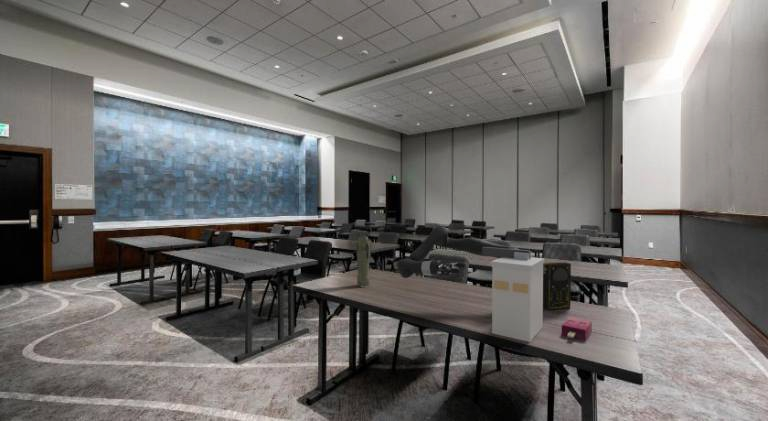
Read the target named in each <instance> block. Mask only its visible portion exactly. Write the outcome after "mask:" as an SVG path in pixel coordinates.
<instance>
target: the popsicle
mask: <svg viewBox="0 0 768 421" xmlns="http://www.w3.org/2000/svg"><path fill="white" fill-rule="evenodd" d="M592 330H593V322H592V320H591V319H590V320H589V319H585V318H584V319H583V318H578V317H574V316H569V317H568V318H567V319H566V320H565V321H564V322H563V323H562V324H561V336H564V337H567V338H571V339H577V340H581V341H585V342H586V340H587V339H588V338H589V336H590V334H591V333H592Z"/></svg>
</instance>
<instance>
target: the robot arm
mask: <svg viewBox="0 0 768 421" xmlns="http://www.w3.org/2000/svg"><path fill="white" fill-rule="evenodd" d="M434 246H436V247H440V248H444V249H446V248H447V249H452V250H456V251H460V252H461V251H462V252H464V253H465V252H466V253H469V254H473V255H476V256H480V257H486V256H485V255H482V247H492V248H505V249H518V250H520V249H519V248H517V247H514V246H505V245H501V244H496V243H494V242H491V241H487V240H484V239H482V238H477V237H473V236H471V237H470V236H469V237H464V238H452V237H449V231H448V229H447V228H446V226H443V225H438V226H436V227H434V229H432V231H430V234H428V236H427V237H426V238H425V239H424V241H423V242H422V243H421V244H420V245H419V246H418V247H417V248H416V249H415V250H414V251H413V252H411V253H410V255H409V256H408V258H401V259H399V260H398V261H397V263H396V266H397V269H398V271H399V273H400V276H401V277H402V278H404V279H408V278H410V277H412V276H413V275H417V276H439V277H440V276H449V275H451V274H459V273H460V268H465V267H466V263H465V262H459V261H458V260H456V261H452V260H451V261H446V262H445V263H443V262H442V261H441V260H426V261H424V260H425V259H426V258H427V257H428V255H429V254H430V252H431V251H432V250H433V247H434ZM488 257H491V258H496V259H499V258H502V257H496V256H488Z"/></svg>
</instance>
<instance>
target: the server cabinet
mask: <svg viewBox="0 0 768 421" xmlns="http://www.w3.org/2000/svg"><path fill="white" fill-rule="evenodd" d="M545 261H546V260H545V258H540V257H532V256H531V259H529V260H520V259H514V258H506V257H502V258H496V259H494V260H492V261H490V267H492V270H491V271H492V272H491V273H492V274H491V275H492V276H491V277H492V278H491V281H492V284H491V287H492V288H491V295H492V296H491V305H492V308H491V313H492V314H491V334H493V335H498V336H503V337H507V338H511V339H515V340H520V341H524V342H528V343H531V342H532V341H533V340H534V338H535V337H536V336H537V334H538V333H539V332H540V331H541V330H542V328H543V325H544V324H543V323H544V322H543V319H544V318H543V317H544V312H543V311H544V310H543V309H544V307H543V263H546V262H545Z"/></svg>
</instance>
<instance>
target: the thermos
mask: <svg viewBox="0 0 768 421" xmlns="http://www.w3.org/2000/svg"><path fill="white" fill-rule="evenodd" d="M371 247H372V246H371V244H370V240H369V237H368V236H367V235H361V236H358V240H357V243H356V258H357V259H356V261H357V276H356V279H357V280H356V282H357V285H358V286H364V287H363V288H366V287H365V286H369V285H370V282H371V281H370V280H371V276H370V258H371ZM358 286H357V287H358ZM369 287H370V286H369Z"/></svg>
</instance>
